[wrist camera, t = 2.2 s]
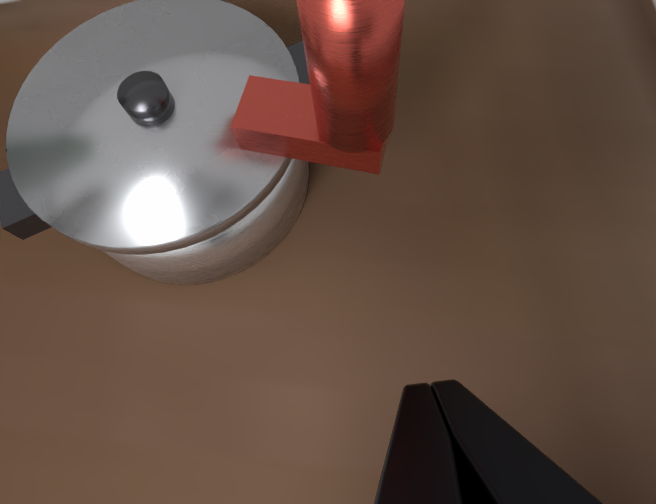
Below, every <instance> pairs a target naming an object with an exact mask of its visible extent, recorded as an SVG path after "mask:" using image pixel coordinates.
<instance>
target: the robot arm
mask: <svg viewBox="0 0 656 504" xmlns="http://www.w3.org/2000/svg"><path fill="white" fill-rule="evenodd" d="M374 504H603V503H602V502H600V501H599V500H598V499H597V498H596V497H594V496H593V495H592V494H591V493H590V492H589V491H587V490H586V489H585V488H584V487H583V486H581V485H580V484H579V483H578V482H577V481H576V480H574V479H573V478H572V477H571V476H570V475H568V474H567V473H566V472H565V471H564V470H562V469H561V468H560V467H559V466H558V465H557V464H555V463H554V462H553V461H552V460H551V459H549V458H548V457H547V456H546V455H545V454H544V453H542V452H541V451H540V450H539V449H538V448H536V447H535V446H534V445H533V444H532V443H531V442H529V441H528V440H527V439H526V438H525V437H523V436H522V435H521V434H520V433H519V432H517V431H516V430H515V429H514V428H513V427H512V426H510V425H509V424H508V423H507V422H506V421H504V420H503V419H502V418H501V417H500V416H499V415H497V414H496V413H495V412H494V411H493V410H491V409H490V408H489V407H488V406H487V405H485V404H484V403H483V402H482V401H481V400H480V399H478V398H477V397H476V396H475V395H474V394H472V393H471V392H470V391H469V390H468V389H467V388H465V387H464V386H463V385H462V384H461V383H459V382H458V381H456V380H444V381H436V382H433V383H431V385H429V384H428V383H418V384H410V385H406V386H405V387H404V388H403V392H402V395H401V399H400V403H399V407H398V411H397V415H396V419H395V423H394V427H393V431H392V435H391V439H390V443H389V447H388V450H387V454H386V458H385V462H384V466H383V470H382V474H381V478H380V482H379V486H378V490H377V494H376V498H375V502H374Z"/></svg>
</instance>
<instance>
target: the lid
mask: <svg viewBox="0 0 656 504" xmlns="http://www.w3.org/2000/svg"><path fill="white" fill-rule="evenodd" d="M296 1H297V7H298V13H299V20H300V26H301V32H302V38H303V44H304V51H305V57H306V63H307V69H308V75H309V81H310V84H303V83H299V78H298V74H297V70H296V66H295V64H294V62H293V59H292V57H291V55H290V52H289V51H288V49H287V48H286V46H285V45H284V43H283V41H282V40H281V39H280V38H279V36H278V35H277V34H276V33H275V32H274V31H273V30H272V29H271V28H270V27H269V26H268V25H267V24H266V23H264V22H263V21H262V20H261V19H259V18H258V17H256V16H255V15H253V14H251V13H250V12H248V11H246V10H244V9H242V8H240V7H238V6H235V5H233V4H230V3H227V2H224V1H221V0H138V1H134V2H130V3H127V4H124V5H121V6H118V7H115V8H113V9H111V10H108V11H106V12H104V13H101V14H99V15H97V16H95V17H94V18H92V19H90V20H88V21H86V22H84V23H83V24H81V25H80V26H78V27H77V28H75V29H74V30H72V31H71V32H69V33H68V34H67V35H66V36H64V37H63V38H62V39H61V40H60V41H58V42H57V43H56V44H55V45H54V46H53V47H52V48H51V49H50V50H49V51H48V52H47V53H46V54H45V55H44V56H43V57H42V58H41V59H40V61H39V62H38V63H37V64H36V66H35V67H34V68H33V69H32V71H31V72H30V74H29V75H28V77H27V78H26V80H25V82H24V83H23V85H22V87H21V89H20V91H19V93H18V95H17V97H16V99H15V101H14V104H13V107H12V110H11V113H10V117H9V122H8V127H7V134H6V153H7V161H8V166H9V170H10V173H11V176H12V180H13V182H14V184H15V186H16V188H17V190H18V192H19V194H20V196H21V197H22V198H23V200H24V201H25V202H26V204H27V205H28V206H29V208H30V209H31V210H32V211H33V212H34V213H35V214H37V215H38V216H39V217H40V218H41V219H42V220H43V221H45V222H46V223H48V224H49V225H50V226H52V227H53V228H55V229H56V230H58V231H59V232H61V233H62V234H64V235H66V236H67V237H69V238H70V239H72V240H75V241H77V242H79V243H81V244H83V245H85V246H88V247H91V248H95V249H98V250H101V251H105V252H112V253H118V254H132V255H146V254H155V253H164V252H169V251H173V250H177V249H182V248H186V247H188V246H191V245H194V244H197V243H200V242H202V241H205V240H207V239H209V238H211V237H213V236H215V235H217V234H219V233H221V232H223V231H225V230H226V229H228V228H230V227H231V226H233V225H234V224H236V223H237V222H239V221H240V220H242V219H243V218H244V217H245V216H247V215H248V214H249V213H250V212H252V211H253V210H254V209H255V208H256V207H258V205H259V204H260V203H261V202H262V201H263V200H264V199H265V198H266V197H267V196H268V195H269V194H270V193H271V192H272V190H273V189H274V188H275V186H276V185H277V184H278V182H279V181H280V180H281V178H282V177H283V175H284V173H285V171H286V170H287V168H288V166H289V164H290V163H291V161H292V159H298V160H303V161H309V162H314V163H320V164H325V165H331V166H336V167H342V168H347V169H353V170H358V171H364V172H369V173H375V174H379V173H380V169H381V165H382V161H383V157H384V153H385V149H386V145H387V140H388V136H389V134H390V133H391V131H392V128H393V124H394V115H395V104H396V93H397V82H398V71H399V60H400V49H401V38H402V27H403V15H404V4H405V0H296Z"/></svg>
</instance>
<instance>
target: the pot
mask: <svg viewBox="0 0 656 504" xmlns="http://www.w3.org/2000/svg"><path fill="white" fill-rule="evenodd" d="M287 49H288V51H289V52H290V55H291V57H292V59H293V62H294V64H295V66H296V70H297V74H298V78H299V83H303V84H310V81H309V75H308V69H307V63H306V57H305V51H304V44H303V41H300V42H298V43H296V44H293V45H291V46H289V47H287ZM308 183H309V165H308V161H303V160H298V159H292V161H291V163H290V164H289V166H288V168H287V170H286V171H285V173H284V175H283V177H282V178H281V180H280V181H279V182H278V184H277V185H276V186H275V188H274V189H273V190H272V192H271V193H270V194H269V195H268V196H267V197H266V198H265V199H264V200H263V201H262V202H261V203H260V204H259V205H258V207H256V208H255V209H254V210H253V211H252V212H250V213H249V214H248V215H247V216H245V217H244V218H243V219H242V220H240V221H239V222H237V223H236V224H234V225H233V226H231V227H230V228H228V229H226V230H225V231H223V232H221V233H219V234H217V235H215V236H213V237H211V238H209V239H207V240H205V241H202V242H200V243H197V244H194V245H191V246H188V247H186V248H182V249H177V250H173V251H169V252H164V253H155V254H146V255H132V254H118V253H112V252H105V251H103V252H105V253H106V254H108V255H109V256H111V257H112V258H114V259H115V260H117V261H118V262H120V263H121V264H122V265H124V266H125V267H127V268H129V269H130V270H132V271H134V272H135V273H137V274H139V275H142V276H144V277H146V278H149V279H152V280H156V281H159V282H163V283H170V284H179V285H183V284H201V283H208V282H213V281H216V280H220V279H224V278H227V277H229V276H232V275H234V274H237V273H239V272H241V271H243V270H245V269H247V268H248V267H250V266H252V265H254V264H255V263H257V262H258V261H259V260H261V259H262V258H264V257H265V256H266V255H268V254H269V253H270V252H271V251H272V250H273V249H274V248H275V247H276V246H277V245H278V244H279V243H280V242H281V241H282V240H283V238H284V237H285V236H286V235H287V234H288V232H289V231H290V229H291V228H292V226H293V225H294V223H295V222H296V220H297V218H298V216H299V214H300V212H301V209H302V207H303V204H304V201H305V198H306V194H307V189H308ZM0 221H1V225H2V228H3V229H4V230H6V231H8V232H10V233H12V234H13V235H15V236H17V237H19V238H21V239H22V240H24V239H26V238H28V237H30V236H33V235H35V234H37V233H39V232H41V231H44V230H46V229H48V228H50V227H52V226H50V225H49V224H48V223H46V222H45V221H43V220H42V219H41V218H40V217H39V216H38V215H37V214H35V213H34V212H33V211H32V210H31V209H30V208H29V206H28V205H27V204H26V202H25V201H24V200H23V198H22V197H21V196H20V194H19V192H18V190H17V188H16V186H15V184H14V182H13V180H12V176H11V173H10V170H9V168H8V169H6V170H4V171H1V172H0Z"/></svg>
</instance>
